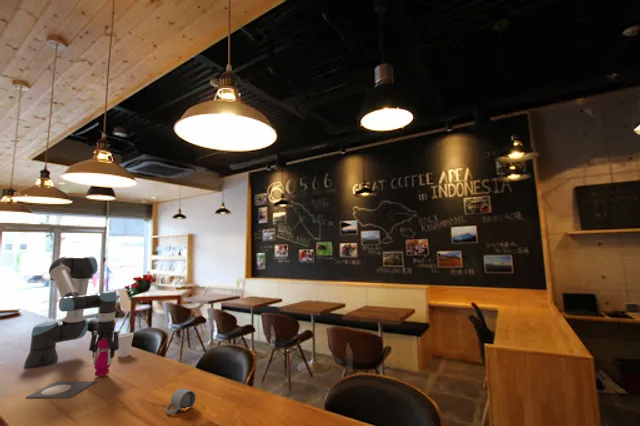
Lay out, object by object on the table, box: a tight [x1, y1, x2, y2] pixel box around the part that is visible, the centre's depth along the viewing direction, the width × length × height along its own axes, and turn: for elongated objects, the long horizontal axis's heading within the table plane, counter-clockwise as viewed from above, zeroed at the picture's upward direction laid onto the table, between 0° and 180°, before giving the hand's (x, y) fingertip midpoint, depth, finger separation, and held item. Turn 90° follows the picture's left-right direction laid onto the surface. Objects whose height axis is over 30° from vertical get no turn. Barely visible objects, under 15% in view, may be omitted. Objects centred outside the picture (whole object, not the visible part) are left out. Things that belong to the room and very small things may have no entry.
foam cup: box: [116, 332, 134, 358], centre depth 201 cm, size 10×9×13 cm
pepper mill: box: [94, 338, 112, 377], centre depth 168 cm, size 7×7×20 cm
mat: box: [25, 380, 97, 399], centre depth 151 cm, size 20×17×1 cm
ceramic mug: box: [165, 388, 197, 414], centre depth 132 cm, size 11×8×8 cm
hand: (102, 364), depth 168 cm, fingers closed on pepper mill, 7 cm apart
